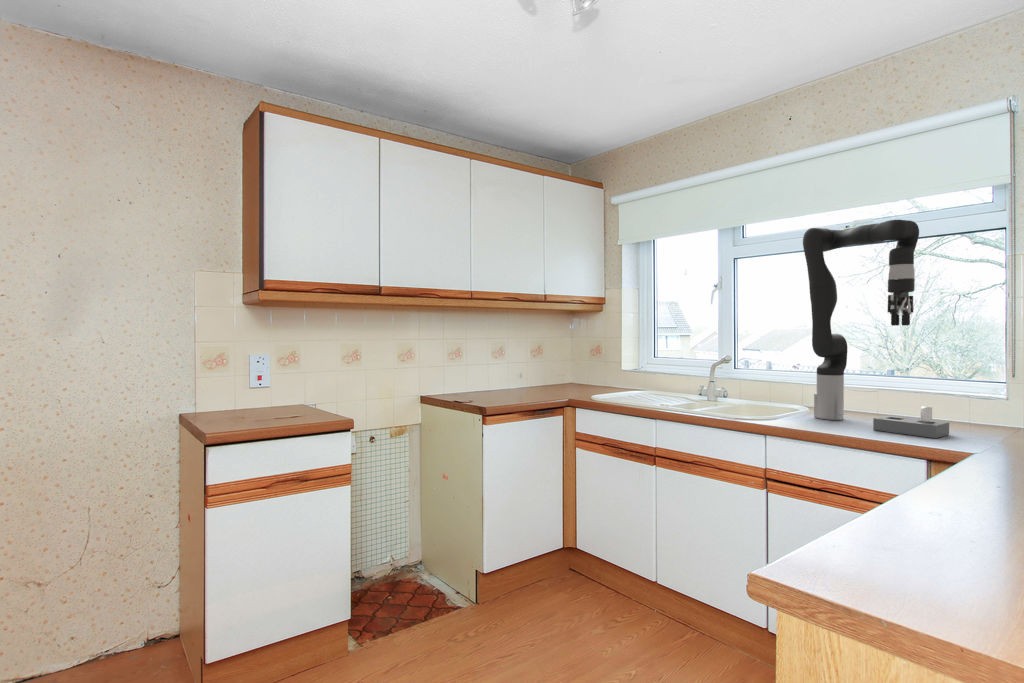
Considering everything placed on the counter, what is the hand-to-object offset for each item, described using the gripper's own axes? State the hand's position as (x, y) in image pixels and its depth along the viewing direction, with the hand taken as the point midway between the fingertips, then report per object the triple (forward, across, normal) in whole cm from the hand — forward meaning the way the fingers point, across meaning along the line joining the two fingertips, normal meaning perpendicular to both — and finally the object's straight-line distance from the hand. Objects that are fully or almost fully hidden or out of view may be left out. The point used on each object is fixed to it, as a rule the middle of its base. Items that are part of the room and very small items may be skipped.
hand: (900, 325), depth 187 cm
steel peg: (+36, +2, +8) cm, 37 cm away
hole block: (+36, +2, +4) cm, 36 cm away
